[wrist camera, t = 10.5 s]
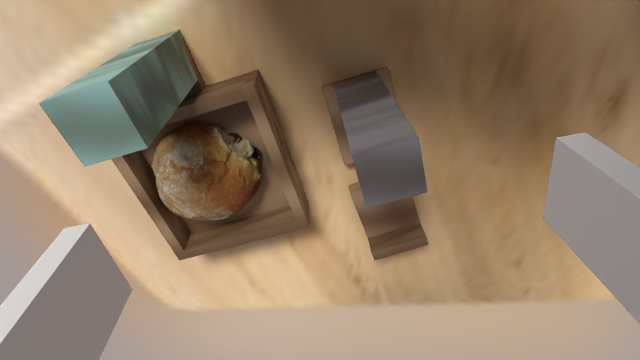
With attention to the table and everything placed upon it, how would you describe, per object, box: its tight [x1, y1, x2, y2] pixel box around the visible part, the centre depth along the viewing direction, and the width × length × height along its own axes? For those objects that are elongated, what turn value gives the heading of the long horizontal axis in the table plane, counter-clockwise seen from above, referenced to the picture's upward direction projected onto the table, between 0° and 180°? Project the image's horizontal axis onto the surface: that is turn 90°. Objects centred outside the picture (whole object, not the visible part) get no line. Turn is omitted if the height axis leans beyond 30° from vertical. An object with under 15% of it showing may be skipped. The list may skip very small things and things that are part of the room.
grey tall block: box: [322, 67, 427, 208], centre depth 30 cm, size 8×6×14 cm
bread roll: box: [152, 121, 262, 221], centre depth 36 cm, size 10×10×8 cm
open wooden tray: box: [39, 30, 309, 260], centre depth 31 cm, size 20×14×14 cm
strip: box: [349, 182, 428, 260], centre depth 40 cm, size 8×6×4 cm
